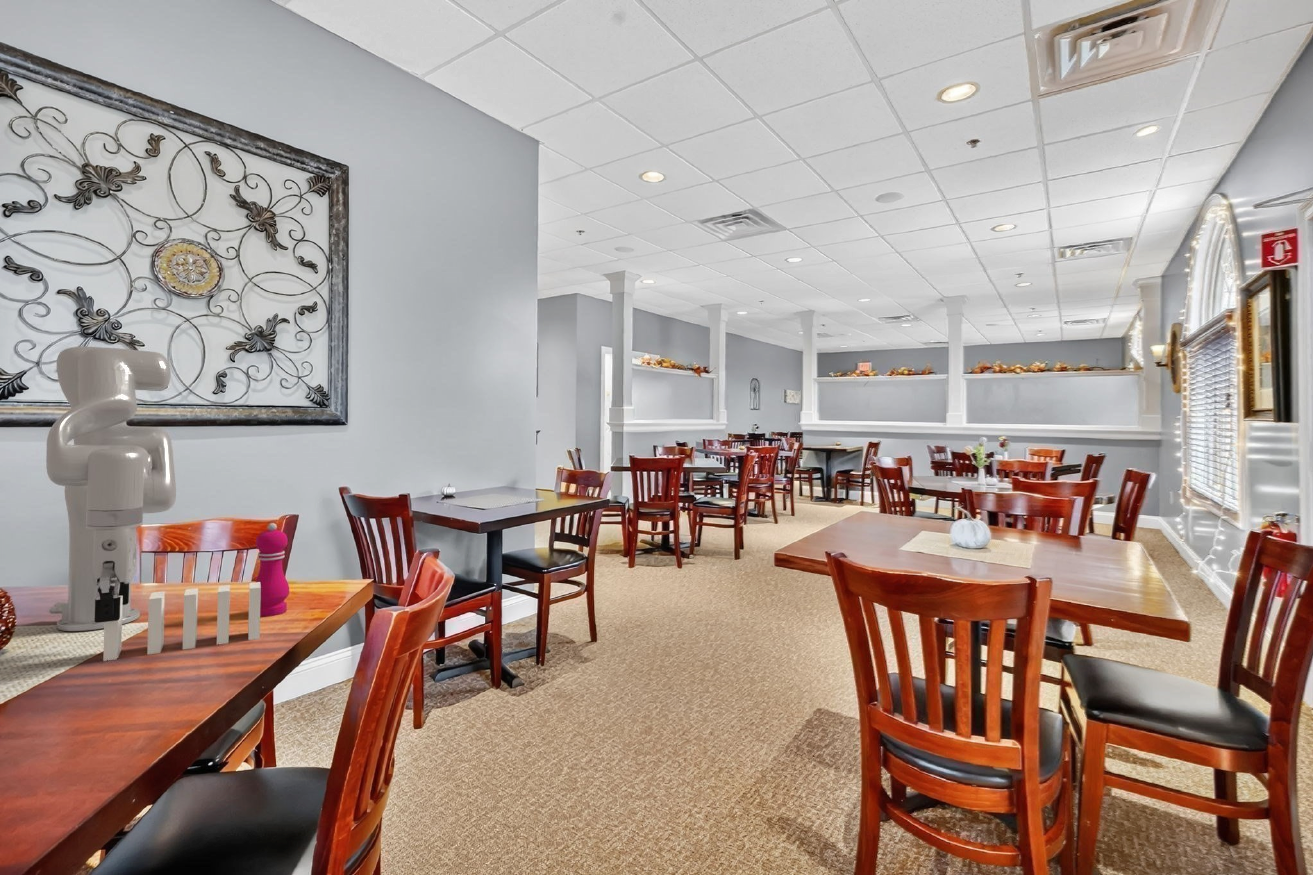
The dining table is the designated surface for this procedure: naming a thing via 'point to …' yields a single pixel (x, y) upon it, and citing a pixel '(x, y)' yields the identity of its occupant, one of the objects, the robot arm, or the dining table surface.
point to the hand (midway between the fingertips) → (112, 612)
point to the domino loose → (113, 637)
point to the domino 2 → (190, 618)
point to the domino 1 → (156, 622)
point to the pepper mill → (272, 571)
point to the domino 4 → (254, 611)
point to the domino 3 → (223, 614)
